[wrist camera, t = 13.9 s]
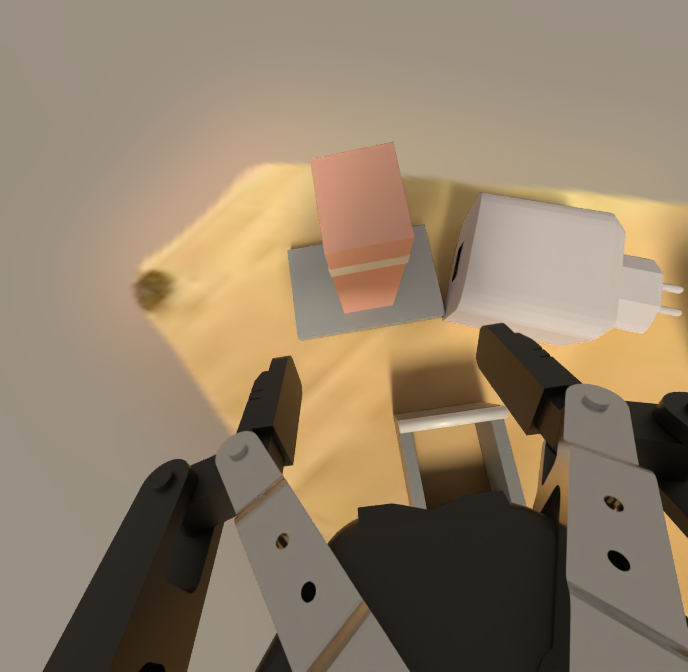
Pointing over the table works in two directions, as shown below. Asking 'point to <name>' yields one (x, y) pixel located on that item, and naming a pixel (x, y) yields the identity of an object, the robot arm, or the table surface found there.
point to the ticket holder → (490, 439)
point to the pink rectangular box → (363, 224)
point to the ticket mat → (329, 318)
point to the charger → (551, 273)
